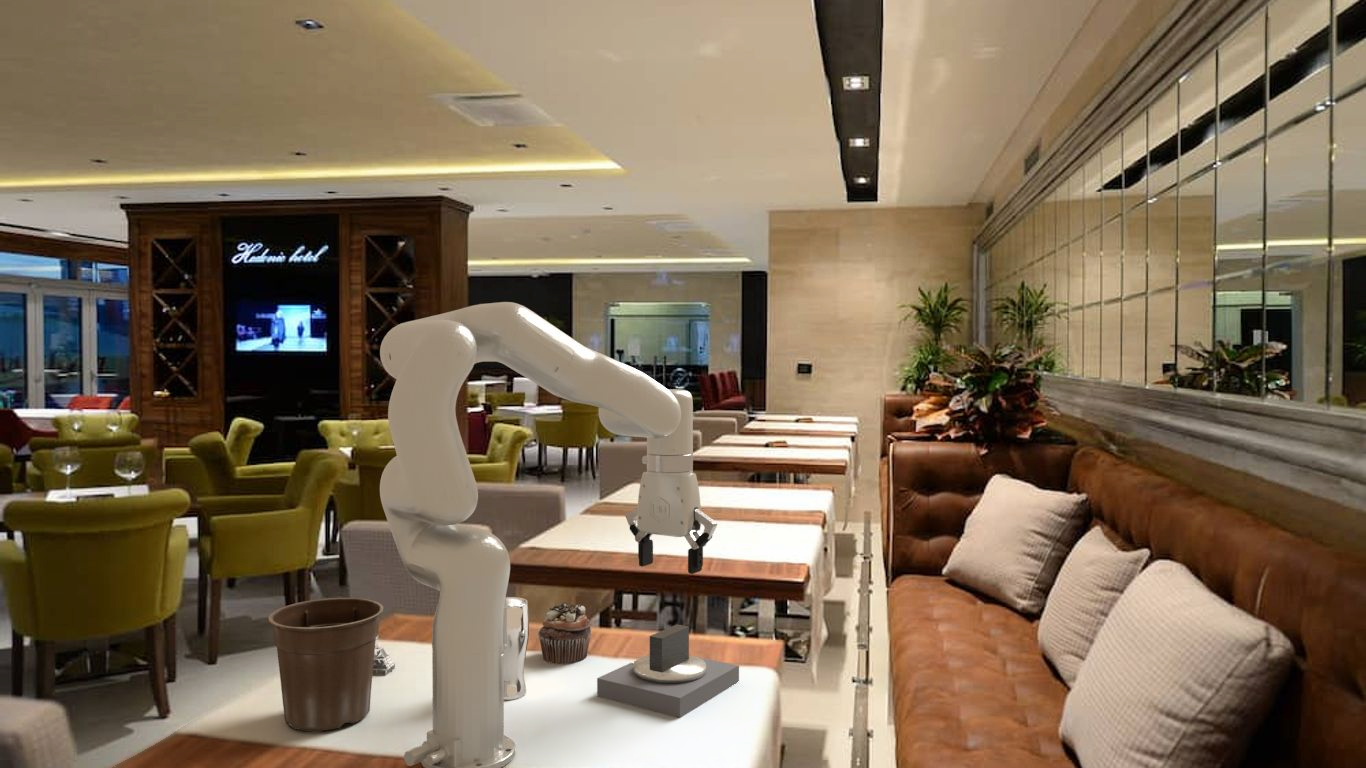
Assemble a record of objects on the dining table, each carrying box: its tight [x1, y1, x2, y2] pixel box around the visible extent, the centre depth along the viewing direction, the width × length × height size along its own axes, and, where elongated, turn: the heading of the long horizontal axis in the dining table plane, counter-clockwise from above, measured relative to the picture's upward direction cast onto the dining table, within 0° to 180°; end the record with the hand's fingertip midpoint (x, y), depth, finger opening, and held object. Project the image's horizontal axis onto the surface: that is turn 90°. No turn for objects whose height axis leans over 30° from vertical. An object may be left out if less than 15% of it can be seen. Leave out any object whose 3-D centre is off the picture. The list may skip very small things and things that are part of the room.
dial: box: [633, 624, 706, 683], centre depth 151 cm, size 12×12×6 cm
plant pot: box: [268, 597, 384, 732], centre depth 140 cm, size 16×16×16 cm
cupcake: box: [537, 601, 592, 665], centre depth 167 cm, size 10×10×10 cm
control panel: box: [596, 653, 740, 718], centre depth 151 cm, size 18×16×3 cm
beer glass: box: [503, 596, 530, 701], centre depth 149 cm, size 7×7×15 cm
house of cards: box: [372, 635, 396, 676], centre depth 163 cm, size 9×9×8 cm
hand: (670, 568), depth 151 cm, fingers open, 9 cm apart
